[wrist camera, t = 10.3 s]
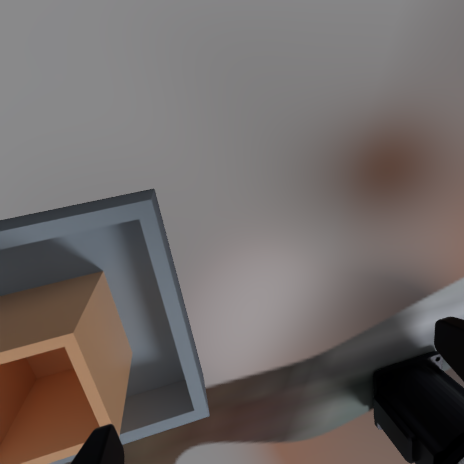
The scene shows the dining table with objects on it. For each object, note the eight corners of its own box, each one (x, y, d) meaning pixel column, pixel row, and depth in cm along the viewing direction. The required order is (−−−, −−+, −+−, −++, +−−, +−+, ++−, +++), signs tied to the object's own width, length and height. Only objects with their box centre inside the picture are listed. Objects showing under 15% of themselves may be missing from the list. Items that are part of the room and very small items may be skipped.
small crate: (103, 270, 17) (73, 332, 12) (132, 353, 19) (118, 440, 14) (-8, 298, 16) (-99, 379, 11) (34, 381, 18) (-24, 487, 13)
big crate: (154, 188, 17) (151, 199, 14) (203, 374, 22) (209, 416, 19) (-118, 244, 15) (-195, 272, 12) (-3, 437, 20) (-36, 496, 17)
